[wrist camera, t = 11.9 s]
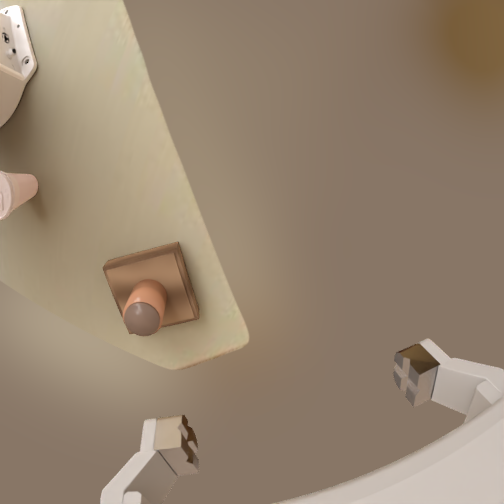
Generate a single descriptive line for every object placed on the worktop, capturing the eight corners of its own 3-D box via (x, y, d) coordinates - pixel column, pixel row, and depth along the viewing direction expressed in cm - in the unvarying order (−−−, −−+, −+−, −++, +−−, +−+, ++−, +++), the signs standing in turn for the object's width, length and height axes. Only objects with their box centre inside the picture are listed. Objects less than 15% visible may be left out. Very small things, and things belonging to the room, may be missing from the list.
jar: (127, 283, 41) (115, 306, 34) (161, 275, 42) (154, 297, 35) (139, 314, 43) (130, 341, 36) (171, 307, 43) (167, 333, 37)
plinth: (108, 260, 43) (101, 268, 40) (178, 241, 44) (176, 248, 41) (133, 324, 47) (129, 335, 44) (199, 309, 47) (199, 319, 44)
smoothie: (28, 215, 39) (-24, 241, 26) (6, 185, 37) (-49, 202, 23) (52, 187, 38) (0, 204, 25) (30, 155, 36) (-26, 163, 23)
